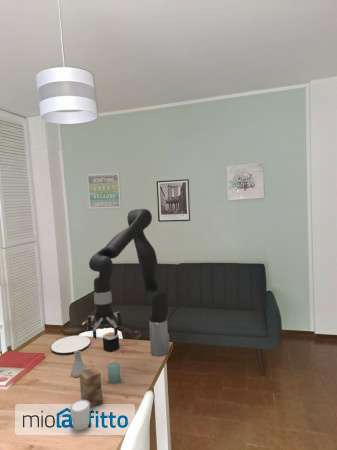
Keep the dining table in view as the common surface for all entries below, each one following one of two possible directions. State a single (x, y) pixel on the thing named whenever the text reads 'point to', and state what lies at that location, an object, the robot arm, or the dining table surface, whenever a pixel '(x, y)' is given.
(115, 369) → the cylinder
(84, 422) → the grey cup
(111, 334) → the sushi
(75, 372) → the flask
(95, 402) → the tower base
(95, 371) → the tower top
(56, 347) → the plate
